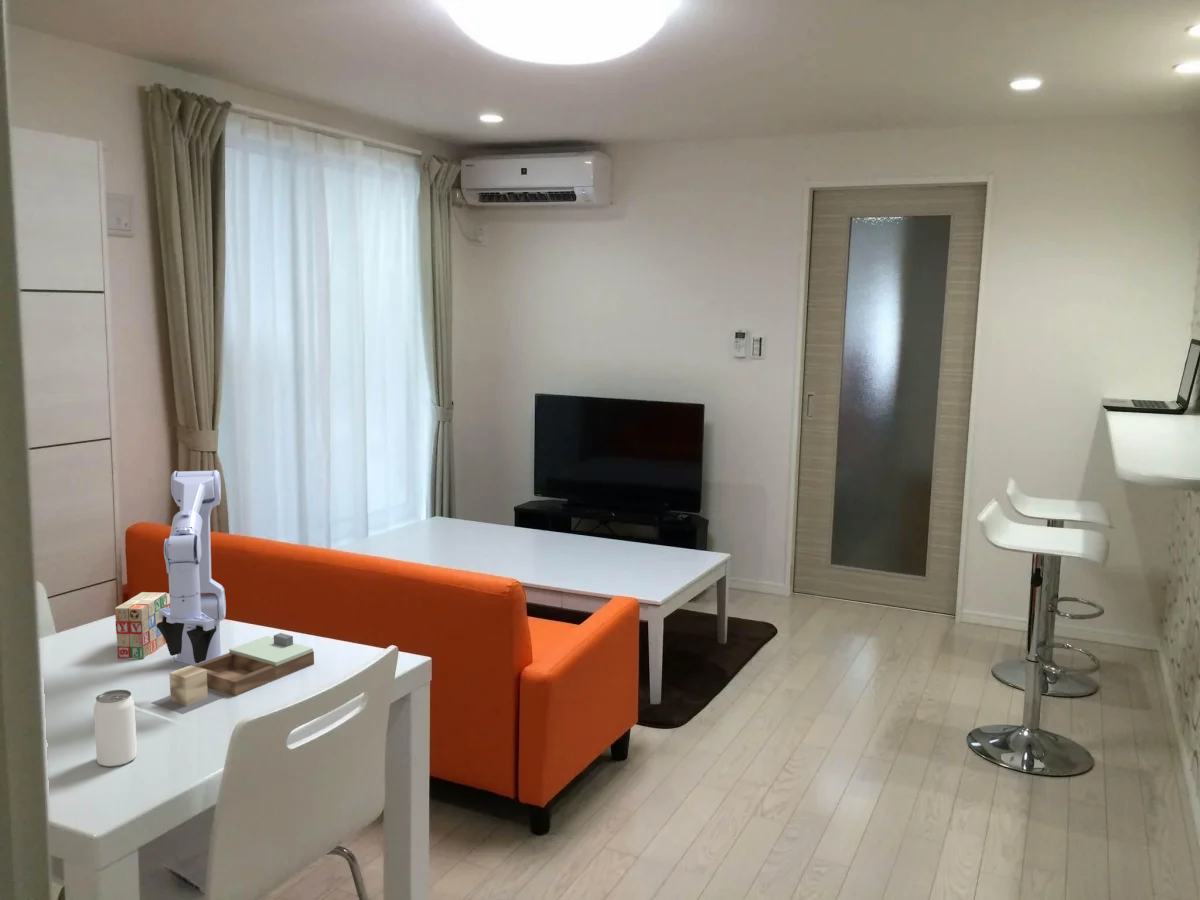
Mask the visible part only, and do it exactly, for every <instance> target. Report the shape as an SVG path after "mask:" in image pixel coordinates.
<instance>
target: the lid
mask: <svg viewBox="0 0 1200 900" xmlns="http://www.w3.org/2000/svg"><path fill="white" fill-rule="evenodd" d="M228 650H229V653H233V654H236V655H240V656H243V657H247V658H250V659H254V660H257V661H261V662H264V663H268V664H271V665H275V666H278V665H280V664H283V663H285V662H288V661H290V660H293V659H295V658H298V657H300V656H303V655H306V654H308V653H311V652H313V651H314V648H313V647H309V646H307V645H302V644H298V643H295V642H294V635H289V634H286V633H282V632H278V633H277V634H273V637H271V636H268V635H265V636H262V637H260V638H257V639H254V640H252V641H248V642H246V643H244V644H243V643H242V644H240V645H237V646H235V647H230V649H228Z"/></svg>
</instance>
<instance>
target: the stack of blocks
mask: <svg viewBox="0 0 1200 900" xmlns="http://www.w3.org/2000/svg"><path fill="white" fill-rule="evenodd" d="M166 607H168V608H170V595H169V593H167V592H155V591H154V592H146V591H141V592H140V593H138V594H137V595H135V596H133V597H131V598H130V599H128V600H127V601H125V602H123V603H121V604H120V605H117V606H116V607H115V608H114V613H115V633H116V644H117V646H116V650H117V659H126V658H138V659H137V660H144V658H145V657H146V656H147V657H149V656H150V655H152V654H154V653H155V652H156V651H157V650H159V649H160V647H161V648H162V647H163V646H164V645H166V641H165V639H164V637H163V635H162V633H161V632H160V630H159V629H158V628H157V623H159V622H162V620H163V619H159V609H162V608H166ZM148 655H149V656H148ZM147 657H146V658H147ZM146 658H145V659H146Z"/></svg>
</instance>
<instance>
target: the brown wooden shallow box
mask: <svg viewBox="0 0 1200 900" xmlns="http://www.w3.org/2000/svg"><path fill="white" fill-rule="evenodd" d="M313 665H315V652H314V650H313V652H311V653H308V654H306V655H303V656H300V657H298V658H295V659H293V660H290V661H288V662H285V663H283V664H280V665H278V666H275V665H271V664H268V663H264V662H261V661H257V660H254V659H250V658H247V657H243V656H240V655H236V654H233V653H230V652H228V653H226V654H224V655H222V656H219V657H216V658H214V659H211V660H208V661H205V662H202V663H200V664H197V665H193V666H195V667H198V668H201V669H205V670H207V688H208V689H212V690H215V691H217V692H221V693H225V694H228V695H231V696H234V697H238V696H240V695H243V694H245V693H247V692H250V691H251V690H254V689H257V688H260V687H262V686H264V685H267V684H268V683H269V684H270V683H272V682H274V681H277V680H280V679H281V678H284V677H287V676H289V675H291V674H294V673H296V672H298V671H302V670H304V669H306V668H309V667H312V666H313Z"/></svg>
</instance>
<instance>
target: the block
mask: <svg viewBox="0 0 1200 900" xmlns="http://www.w3.org/2000/svg"><path fill="white" fill-rule="evenodd" d="M169 687H170V688H169V689H170V691H169V692H170V695H171V701H173V702H176V703H179V704H182V705H185V706H189V705H191V704H194V703H196V702H199V701H201V700H204V699H206V698H208V692H209V691H208V687H207V670H205V669H201V668H198V667H195V666H194V665H190V664H189V665H187V666H185V667H182V668H179V669H176V670H173V671H171V672H169ZM170 695H169V696H170Z"/></svg>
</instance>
